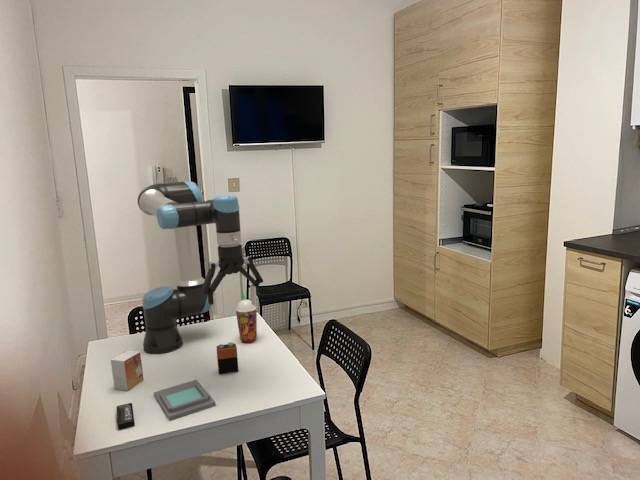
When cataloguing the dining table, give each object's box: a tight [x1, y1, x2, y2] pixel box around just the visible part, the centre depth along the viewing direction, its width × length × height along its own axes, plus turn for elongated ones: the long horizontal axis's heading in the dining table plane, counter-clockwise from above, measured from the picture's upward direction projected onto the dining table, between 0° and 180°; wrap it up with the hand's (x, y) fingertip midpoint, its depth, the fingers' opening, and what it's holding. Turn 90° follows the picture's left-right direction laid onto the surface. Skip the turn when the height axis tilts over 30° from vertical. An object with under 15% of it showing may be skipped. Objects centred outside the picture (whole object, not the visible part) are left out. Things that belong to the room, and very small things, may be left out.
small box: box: [110, 349, 144, 392], centre depth 160 cm, size 8×6×10 cm
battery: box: [216, 341, 239, 375], centre depth 167 cm, size 4×7×10 cm, turn 104°
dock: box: [153, 379, 217, 422], centre depth 149 cm, size 18×14×2 cm
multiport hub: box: [116, 402, 136, 431], centre depth 140 cm, size 4×11×2 cm, turn 24°
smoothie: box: [235, 292, 258, 344], centre depth 193 cm, size 8×8×20 cm
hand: (234, 309), depth 155 cm, fingers open, 13 cm apart
